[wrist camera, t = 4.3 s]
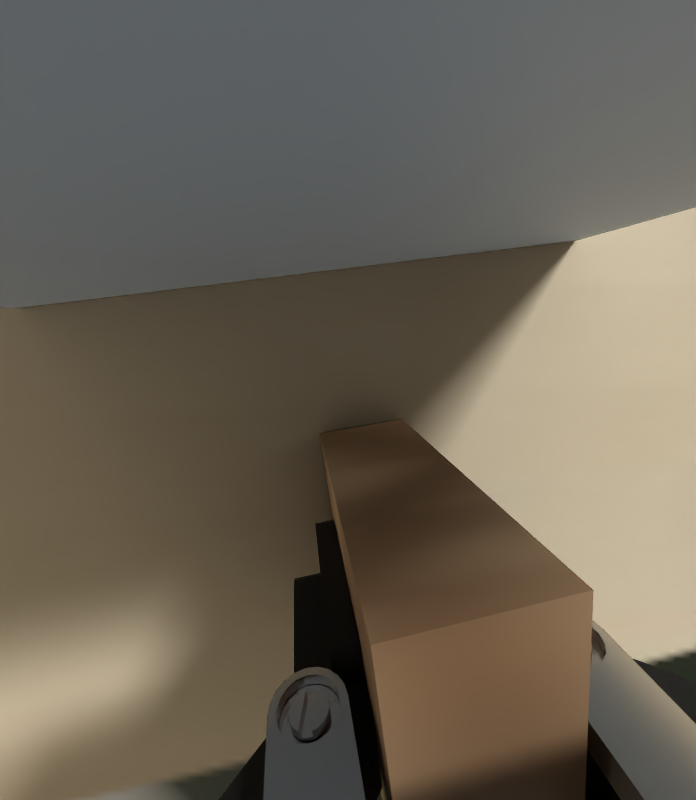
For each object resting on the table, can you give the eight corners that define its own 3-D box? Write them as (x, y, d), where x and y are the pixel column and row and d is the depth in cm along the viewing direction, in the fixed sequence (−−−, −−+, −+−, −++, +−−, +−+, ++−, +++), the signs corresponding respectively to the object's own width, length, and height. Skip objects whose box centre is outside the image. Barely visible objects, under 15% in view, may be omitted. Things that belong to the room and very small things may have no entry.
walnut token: (401, 419, 11) (593, 590, 4) (420, 611, 12) (578, 968, 5) (319, 433, 10) (370, 644, 4) (350, 628, 12) (424, 1027, 5)
